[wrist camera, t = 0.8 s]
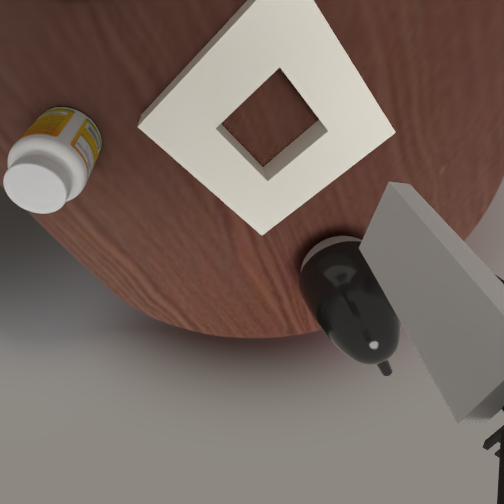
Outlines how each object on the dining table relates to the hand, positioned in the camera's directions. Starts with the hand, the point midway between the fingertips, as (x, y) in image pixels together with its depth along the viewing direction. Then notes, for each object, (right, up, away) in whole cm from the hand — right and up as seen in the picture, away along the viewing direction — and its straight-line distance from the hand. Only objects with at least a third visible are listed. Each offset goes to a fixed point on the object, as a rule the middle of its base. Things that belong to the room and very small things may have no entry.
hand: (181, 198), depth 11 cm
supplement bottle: (-14, +9, +22) cm, 27 cm away
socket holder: (+4, +11, +23) cm, 25 cm away
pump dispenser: (+12, -2, +35) cm, 37 cm away
